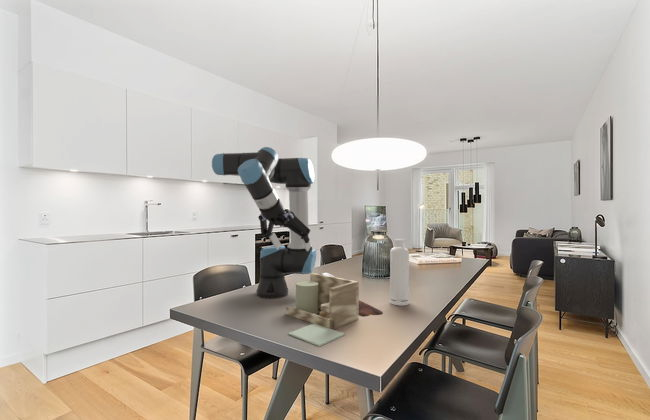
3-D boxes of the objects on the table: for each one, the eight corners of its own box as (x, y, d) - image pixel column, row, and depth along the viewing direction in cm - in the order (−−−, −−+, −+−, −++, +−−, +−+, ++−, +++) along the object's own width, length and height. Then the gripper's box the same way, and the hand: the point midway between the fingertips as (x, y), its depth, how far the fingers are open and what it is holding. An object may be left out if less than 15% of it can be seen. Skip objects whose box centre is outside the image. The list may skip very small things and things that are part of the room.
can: (322, 310, 132) (322, 281, 132) (310, 317, 124) (310, 285, 124) (303, 307, 137) (304, 278, 137) (290, 313, 129) (290, 283, 129)
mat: (288, 334, 107) (288, 332, 107) (313, 324, 116) (313, 323, 116) (319, 346, 98) (319, 344, 98) (344, 335, 107) (344, 333, 107)
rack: (286, 314, 128) (286, 278, 127) (312, 305, 139) (312, 272, 139) (332, 329, 112) (332, 288, 111) (358, 318, 123) (358, 281, 123)
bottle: (408, 306, 138) (408, 240, 138) (388, 304, 141) (389, 239, 141) (409, 301, 146) (409, 238, 146) (391, 299, 149) (391, 238, 149)
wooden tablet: (334, 297, 149) (353, 292, 153) (334, 301, 149) (353, 297, 153) (361, 315, 125) (384, 309, 128) (362, 320, 125) (384, 314, 129)
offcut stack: (317, 321, 119) (317, 305, 119) (335, 315, 126) (335, 299, 126) (332, 326, 114) (332, 309, 114) (350, 319, 122) (350, 303, 122)
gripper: (235, 211, 112) (262, 253, 124) (294, 209, 100) (318, 256, 112) (246, 197, 117) (271, 239, 129) (304, 194, 105) (326, 241, 117)
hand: (293, 247), depth 120 cm, fingers open, 13 cm apart
